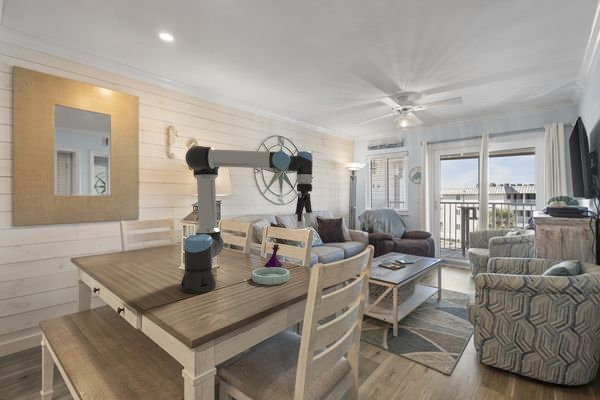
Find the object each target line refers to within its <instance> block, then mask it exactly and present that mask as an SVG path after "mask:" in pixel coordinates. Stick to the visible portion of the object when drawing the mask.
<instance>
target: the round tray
mask: <svg viewBox="0 0 600 400" xmlns="http://www.w3.org/2000/svg"><path fill="white" fill-rule="evenodd" d="M290 273H291V272H290V270H289V269H287V268H282V267H281V268H278V267H267V268H265V267H261V268H257V269H254V270H253V271H252V272H251V280H252V282H253V283H255V284H258V285H259V284H260V285H267V286H268V285H269V286H273V285H274V286H275V285H280V284H284V283H287V282H288V281H289V280H290V275H291V274H290Z"/></svg>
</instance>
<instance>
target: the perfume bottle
mask: <svg viewBox="0 0 600 400" xmlns="http://www.w3.org/2000/svg"><path fill="white" fill-rule="evenodd" d="M269 241H270V243H271V242H272V241H273V242H274V243H275V244H272V245H273V247H272V249H271V250H273V252H272V254H271V257H270V258H269V259H268V261H267V262H266V263H265V264H264V265H263V266H264V267H263V268H267V267H278V268H282V267H283V264H282V262H281V261H280V260H279V259H278V258H277V252H278V251H279V250H280V247H279V244H277V239H276V238H270V240H269Z"/></svg>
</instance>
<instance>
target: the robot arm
mask: <svg viewBox="0 0 600 400" xmlns="http://www.w3.org/2000/svg"><path fill="white" fill-rule="evenodd" d="M184 157H185V162H186V163H185V164H186V165H187V166H188V167H189V168H190V169H191V170H192V174H193V177H194V178H195V180H196V186H197V207H198V209H197V210H198V229H197V230H196V231H195V234H194V235H190V236H187V237H186V238H185V240H184V245H183V248H184V274H183V276H182V279H181V282H180V287H179V288H180V291H181V292H182V291H183V292H182V293H184V292H185V293H184V294H201V293H203V294H204V293H207V292H211V291H212V290H215V289H216V287H217V280H216V278H215V275H214V272H213V259H214V258H215V257H217V256H218V255H219V254H220V253H221V252H222V250H223V248H224V239H223V237H222V236H221V229H220V228H218V219H217V218H218V215H217V193H216V191H217V190H216V189H217V188H216V179H217V178H218V177H219V169H220V168H242V169H243V168H247V169H248V168H249V169H250V168H251V169H272V170H273V171H274V172H280V173H281V172H296V183H297V184H296V192H299V193H297V201H296V207H295V215H296V216H297V217H296V229H301V230H302V229H304V226H311V214H312V213H313V210H312V203H311V202H312V201H311V192H313V184H312V183H313V180H314V176H313V153H312V152H311V151H307V150H305V151H298V152H296V155H290V154H289V153H288V152H286V151H284V150H278V151H265V150H263V151H262V150H261V151H260V150H235V149H233V150H232V149H215V147H213V146H203V145H194V146H192V147H190V148H189V149H188V150H187V151H186V152H185V155H184ZM304 211H305V213H304ZM303 213H304V214H303Z"/></svg>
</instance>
